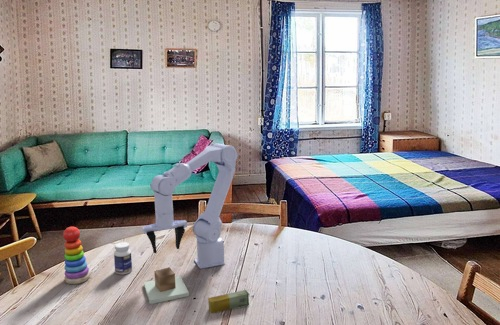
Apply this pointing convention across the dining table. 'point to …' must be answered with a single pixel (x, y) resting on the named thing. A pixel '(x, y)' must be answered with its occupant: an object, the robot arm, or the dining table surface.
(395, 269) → the dining table surface
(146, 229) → the robot arm
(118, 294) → the dining table surface
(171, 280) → the walnut cube
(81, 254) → the stacking toy
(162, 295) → the sage tile
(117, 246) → the pill bottle
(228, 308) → the medication box
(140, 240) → the dining table surface
